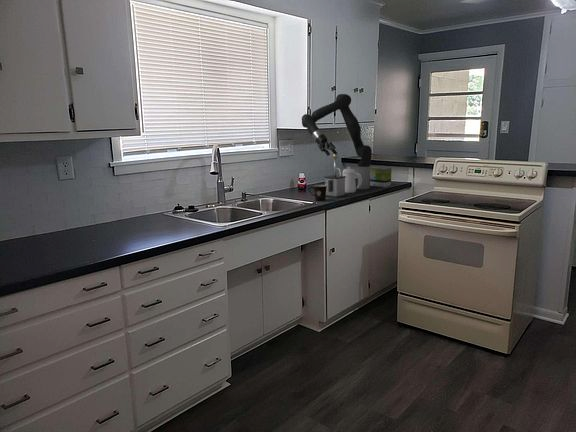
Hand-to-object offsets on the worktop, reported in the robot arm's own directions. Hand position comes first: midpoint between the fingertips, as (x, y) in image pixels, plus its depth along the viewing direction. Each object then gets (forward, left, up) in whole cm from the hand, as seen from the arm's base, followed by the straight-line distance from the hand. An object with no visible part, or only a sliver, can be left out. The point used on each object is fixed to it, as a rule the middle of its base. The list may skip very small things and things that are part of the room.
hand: (332, 154), depth 304 cm
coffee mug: (+19, +2, -29) cm, 35 cm away
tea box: (-61, +3, -29) cm, 68 cm away
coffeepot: (-21, -1, -29) cm, 36 cm away
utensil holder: (0, +2, -29) cm, 29 cm away
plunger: (0, +2, -19) cm, 19 cm away
